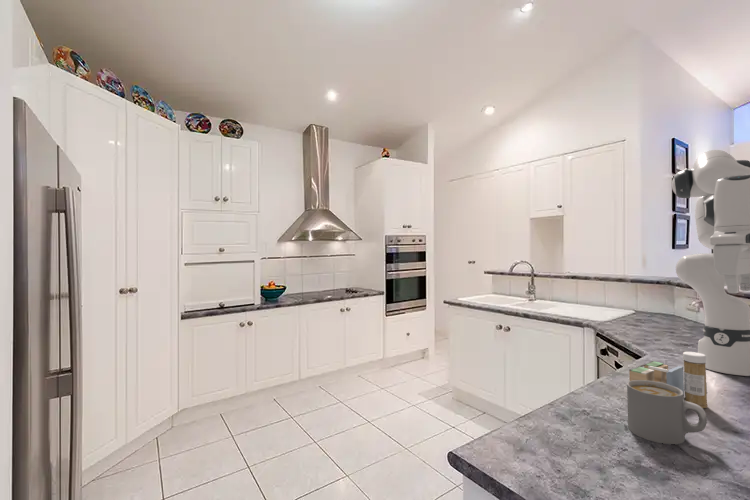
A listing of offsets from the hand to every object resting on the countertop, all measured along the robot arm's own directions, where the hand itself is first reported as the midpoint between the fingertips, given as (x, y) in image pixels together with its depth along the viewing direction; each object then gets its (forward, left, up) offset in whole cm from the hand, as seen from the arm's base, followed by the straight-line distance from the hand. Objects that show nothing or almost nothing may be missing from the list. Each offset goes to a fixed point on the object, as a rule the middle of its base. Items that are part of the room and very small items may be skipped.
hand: (739, 291), depth 92 cm
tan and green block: (+8, -17, -30) cm, 35 cm away
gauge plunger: (+8, -13, -29) cm, 33 cm away
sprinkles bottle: (+8, -7, -30) cm, 32 cm away
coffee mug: (+33, -5, -30) cm, 45 cm away
